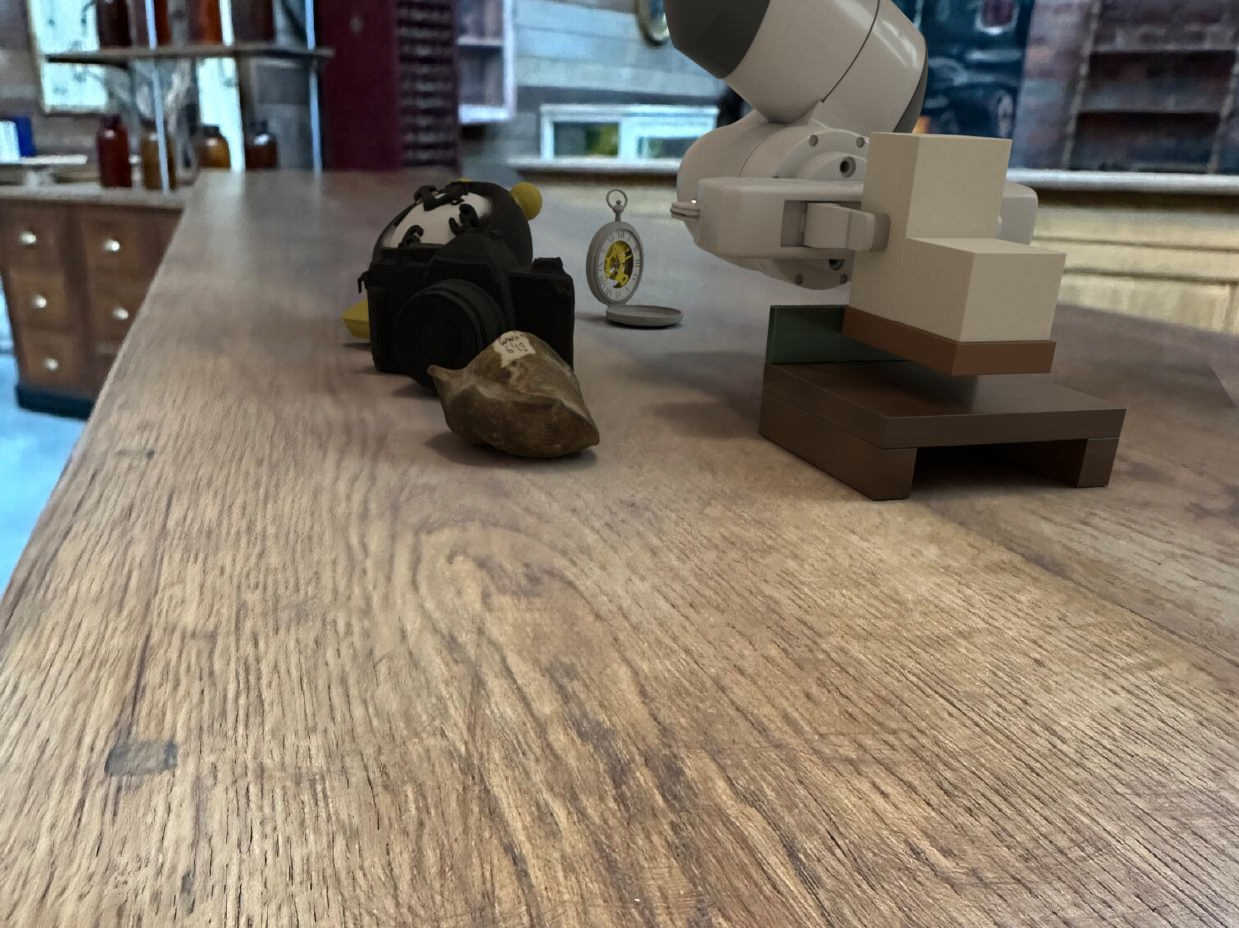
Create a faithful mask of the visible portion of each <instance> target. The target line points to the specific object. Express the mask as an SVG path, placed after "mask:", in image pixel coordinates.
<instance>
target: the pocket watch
mask: <svg viewBox="0 0 1239 928" xmlns="http://www.w3.org/2000/svg"><path fill="white" fill-rule="evenodd" d="M613 192H618V193H620V194H621V195H622V196H623V198H624V204H622V203H623V202H622V200H620V199H617V200H615V205H613V204H612V203H611V201H610V195H611V194H612V193H613ZM605 201H606V204H607V206H608V207H609V208H610V209H612V212H613V213H614V216H615V217H614V220H613V221H611V222H610V221H609V222H607V223H605V224H603V225H602V226H600V228H598V230H597V231H596V232H595V233H594V235H593V237H592V238H591V240H590V243H589V245H588V249H587V253H586V260H585V276H586V277H585V278H586V282H587V285H588V288H589V290H590V292H591V294H592V296H593V297H594V298H595V299H596V300H597V301H598V302H600V303H601V304H603V305H605V306H607V307H606V308H605V316H606V318H607V319H608V320H610V321H613V322H614V323H619V324H622V325H623V326H625V325H628V326H637V327H638V326H639V327H644V328H645V327H647V328H649V327H667V326H670V325H676V324H679V323H681V322H682V320H683V318H684V311H683V310H680V309H679V308H674V307H669V306H661V305H652V304H627V303H628V302H629V301H630V300H631V299H632V298H633V297H634V296H635V294H636V292H637V290H638V289H639V286H640V284H641V282H642V278H643V272H644V268H645V253H644V251H645V250H644V246H643V245H644V244H643V243H642V239H641V237H640V234H639V232H638V231H637V230H636V228H635V227H634V225H631V223H629V222H627V221H622V213H624V211H625V209H626V207H627V206H628V202H629V198H628V196H627V193H626V192H625V191H623V190H622V189H621V188H616V187H615V188H611V189H610V190H609V191H608V192H607V193H606V195H605ZM611 270H612V272H610V271H611ZM608 279H609V280H612V281H616V282H617V283H616V284H613V286H612V285H611V284H609V282H608Z"/></svg>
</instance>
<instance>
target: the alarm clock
mask: <svg viewBox="0 0 1239 928" xmlns="http://www.w3.org/2000/svg"><path fill="white" fill-rule="evenodd" d="M413 201H414V202H413V203H412V204H409V205H408V206H407V207H406V208H405V209H403V210H402V211H401V212H399V213H398V214H397V215H396V216H395V217H394V218H393V219H391V221H389V223H388V224H387V225H386V226H385V228H384V229H383V230H382V231H381V233H380V234H379V235H378V237H377V240H376V242H375V244H374V246H373V249H372V255H371V261H373V260H374V259H377V258H379V257H380V248H382V247H396V248H397V247H398V243H407V245H408V246H410V245H412V244H413V243H414V242H418V243H436V244H446V243H448V242H449V241H450V240H452V239H453V238H454V237H456V236H457V235H459V234H460V233H462V234H464V229H469V228H477V233H487V232H488V231H493V230H502V231H503V233H504V236H503V240H504V242H505V243H506V245H507V246H508V247H509V249H510V250H511V251H512V252H513V253H514V254H515V256H516V258H517V259H518V261H519V263H520V266H521V267H531V266H532V263H533V261H534V244H533V236H532V231H531V226H530V224H529V221H531V220H534V219H536V218H537V216H538V215H539V214H540V213H541V210H542V208H543V196H542V193H541V192H540V190H539V189H538V187H536V186H535V185H534V184H533V183H530V182H528V181H522V182H519V183H516V184H514V185H513V187H512V188H511V189H510V190H508V189H507V188H505V187H503V186H501V185H500V184H497V183H494V182H489V181H476V180H475V181H473V180H472V179H469V178H466V177H463V178H458V179H456V180H455V181H453V180H452V181H450V183H448V184H446V185H444V187H443V188H441V189H437V187H436V185H435V184H426V185H421V186H419V187H418V189H416V191H415V192H414V193H413ZM341 318H342V320H343V324H344V326H345V327H346V329H347V330H348V331H349V332H350V334H351V335H352V337H354V338H358V339H363V340H369V341H370V329H369V318H368V301H367V298H365V299H364V300H361V301H360V302H358V303H356V304H355V305H352V306H351V307H350V308H348V309H347V310H346V311H344V312H343V313H342V314H341Z"/></svg>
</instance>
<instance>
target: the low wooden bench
mask: <svg viewBox="0 0 1239 928" xmlns="http://www.w3.org/2000/svg"><path fill="white" fill-rule="evenodd" d="M848 306H849V303H848V304H847V303H846V304H845V303H844V304H771V305H770V306H769V313H768V326H767V336H766V347H765V357H764V361H765V362H764V365H763V375H762V376H763V377H762V387H761V388H762V390H761V399H760V408H759V409H760V410H759V419H758V429H757V430H758V431H757V433H758V434H759V435H761V436H763V437H765V438H766V439H768V440H769V441H771V442H773V443H775V444H777V445H778V446H780V447H782V448H784V449H785V450H787V451H789V452H791V453H792V454H794V455H795V456H797V457H799V458H801V459H803V460H805V461H807V462H808V463H809V464H811V465H813V466H815V467H817V468H818V469H820V470H822V471H824V472H826V473H827V474H829V475H831V476H832V477H834V478H836V479H837V480H839V481H840V482H842V483H845V484H846V485H848V486H849V487H851V488H853V489H855V490H857V492H860V493H862V494H864V495H865V496H866V497H868V498H870V499H872V500H874V501H883V500H884V501H885V500H886V501H887V500H899V499H900V500H902V499H909V498H910V496H911V490H912V484H913V477H914V472H915V471H914V470H915V466H916V465H915V464H916V460H917V453H918V448H934V447H953V446H972V445H973V446H974V445H978V446H979V445H980V446H982V447H984V448H986V449H989V450H991V451H993V452H996V453H998V454H1000V455H1001V456H1004V457H1007V458H1008V459H1011V460H1014V461H1016V462H1018V463H1020V464H1022V465H1025V466H1026V467H1030V468H1032V469H1034V470H1037V471H1039V472H1041V473H1043V474H1045V475H1048V476H1050V477H1052V478H1054V479H1057V480H1058V481H1061V482H1064V483H1066V484H1068V485H1070V486H1073V487H1075V488H1077V489H1078V488H1092V487H1107V486H1109V483H1110V481H1111V480H1110V479H1111V476H1112V473H1113V472H1112V471H1113V467H1114V463H1115V459H1116V455H1117V451H1118V448H1119V443H1120V437H1121V434H1122V431H1123V425H1124V421H1125V419H1126V414H1127V410H1128V408H1127V407H1126V406H1123V405H1119V404H1116V403H1114V402H1111V401H1109V400H1105V399H1102V398H1100V397H1096V396H1093V395H1090V394H1087V393H1084V392H1081V391H1078V390H1075V389H1072V388H1070V387H1066V386H1064V385H1060V384H1058V383H1055V382H1052V381H1049V380H1046V379H1043V378H1040V377H1037V376H1034V375H1032V374H1001V375H968V376H950V375H947V374H945V373H942V372H939V371H937V370H934V369H932V368H929V367H926V366H924V365H921V364H918V363H916V362H913V361H910V360H908V359H905V358H902V357H900V356H897V355H894V354H892V353H889V352H886V351H884V350H881V349H878V348H876V347H873V346H870V345H868V344H865V343H862V342H860V341H857V340H854V339H852V338H849V337H847V336H844V335H842V328H843V320H844V312H845V307H848Z"/></svg>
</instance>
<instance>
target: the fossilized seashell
mask: <svg viewBox="0 0 1239 928" xmlns="http://www.w3.org/2000/svg"><path fill="white" fill-rule="evenodd" d="M427 372H428V374H429V375H430V376H432V378H433V382H434V384H435V387H436V389H437V394H438V397H439V403H440V405H441V406H440V407H441V409H442V412H443V415H444V420H445V424H446V425H447V427H448V429H449V430H450V431H451V432H452V433H453V434H455V435H456V436H457V437H459V438H460V439H462V440H465V441H467V442H469V443H472V444H479V445H483V444H485V445H486V444H487V445H491V446H492V447H494V448H495V449H497V450H500V451H504V452H506V453H507V454H509V455H517V456H521V457H524V458H533V459H534V458H556V457H561V456H566V455H569V454H573V453H576V452H580V451H583V450H585V449H587V448H591V447H594V446H598V445H599V444H600V441H601V436H600V431H599V429H598V427H597V424H596V423H595V420H594V418H593V415H592V414H591V411H590V410H589V408H588V407H587V405H586V403H585V400H584V398H583V393H582V390H581V384H580V382H579V379H578V377H577V375H576V373H575V371H574V372H573V370H572V369H571V367H570V366H569V365H568V364H567V363H566V362H565V361H563V360H562V359H561V358H560V356H559V355H558V354H557V352H555V351H554V350H553V349H552V348H551V347H550V346H549V345H548V344H547V343H546V342H545V341H542V340H541V339H539V338H538V337H536V336H535V335H533V334H531V333H527V332H519V331H510V332H507V333H505V334H503V335H501V336H500V337H499V338H498V339H496V340H495V341H494V342H493V343H492V344H491V345H490V346H488V347H487V348H486V349H485V350H484V351H482V352H481V353H480V354H479V355H478V356H476V357H475V358H474V359H473V360H472V361H471V362H470V363H469V364H468V365H467V367H466V368H463V369H461V370H448V369H445V368H442V367H439V366H436V365H432V366H429V368H428V370H427Z"/></svg>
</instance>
